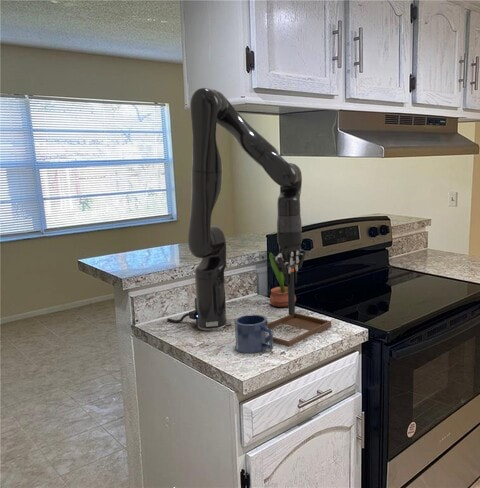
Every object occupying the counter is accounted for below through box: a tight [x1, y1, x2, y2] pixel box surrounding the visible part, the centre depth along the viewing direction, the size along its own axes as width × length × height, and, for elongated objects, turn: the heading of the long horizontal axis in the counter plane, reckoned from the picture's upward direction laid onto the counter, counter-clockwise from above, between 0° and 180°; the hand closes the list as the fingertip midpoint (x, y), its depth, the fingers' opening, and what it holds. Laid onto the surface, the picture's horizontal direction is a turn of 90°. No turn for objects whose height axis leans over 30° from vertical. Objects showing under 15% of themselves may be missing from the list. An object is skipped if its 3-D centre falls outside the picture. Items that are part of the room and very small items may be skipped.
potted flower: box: [268, 252, 297, 308], centre depth 183 cm, size 12×10×25 cm
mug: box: [234, 313, 274, 355], centre depth 142 cm, size 13×9×9 cm
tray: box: [267, 312, 332, 348], centre depth 157 cm, size 16×22×2 cm
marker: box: [286, 267, 296, 315], centre depth 154 cm, size 2×2×15 cm
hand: (290, 283), depth 154 cm, fingers closed on marker, 2 cm apart
